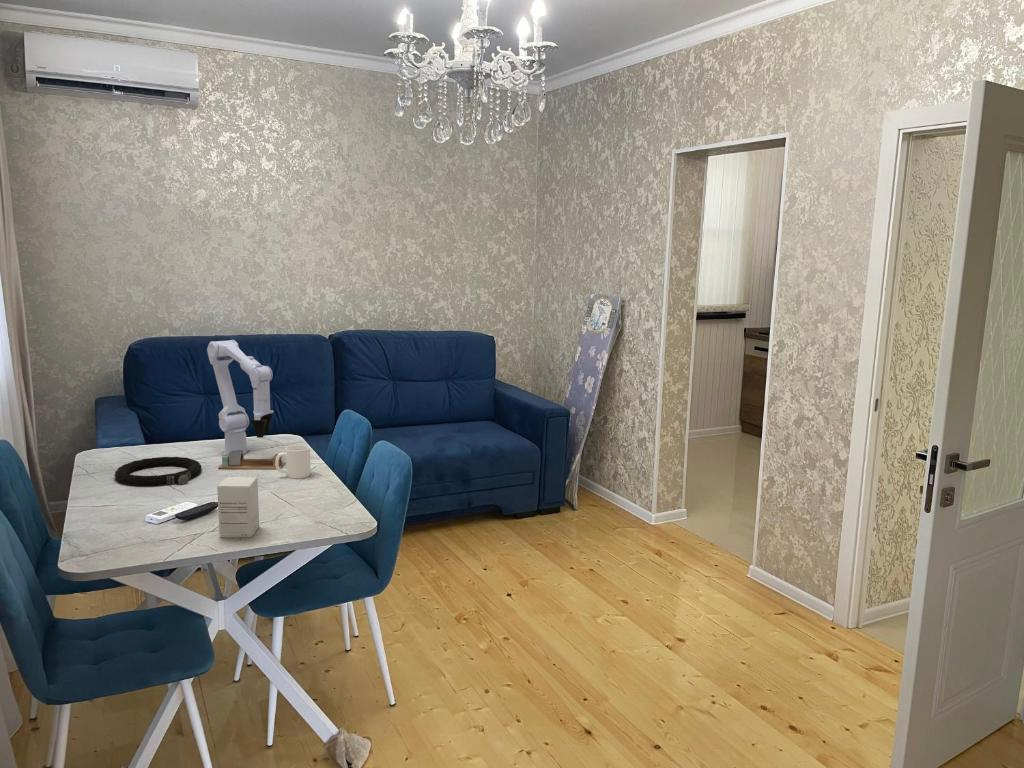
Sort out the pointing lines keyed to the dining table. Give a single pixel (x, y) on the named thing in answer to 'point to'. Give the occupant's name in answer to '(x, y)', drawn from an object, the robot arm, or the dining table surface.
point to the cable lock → (157, 480)
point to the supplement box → (238, 507)
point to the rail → (252, 463)
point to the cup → (296, 461)
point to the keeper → (236, 457)
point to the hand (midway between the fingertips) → (262, 435)
